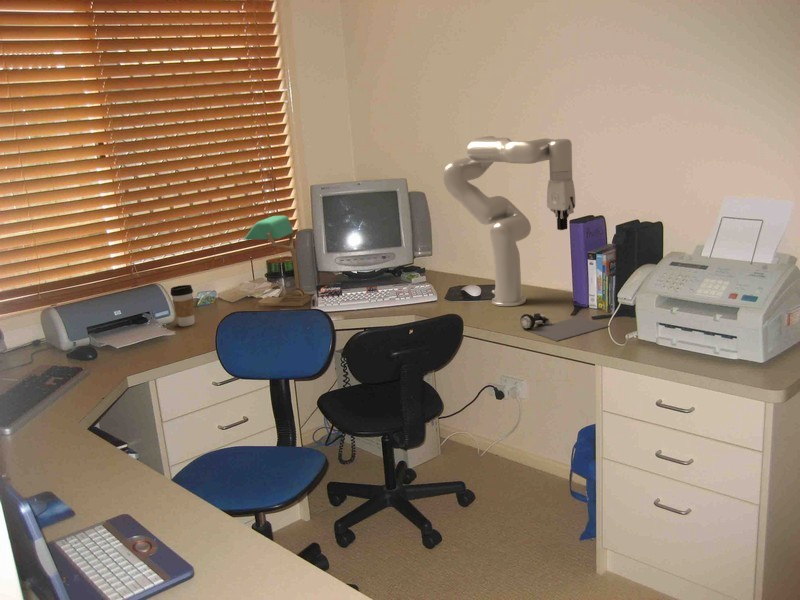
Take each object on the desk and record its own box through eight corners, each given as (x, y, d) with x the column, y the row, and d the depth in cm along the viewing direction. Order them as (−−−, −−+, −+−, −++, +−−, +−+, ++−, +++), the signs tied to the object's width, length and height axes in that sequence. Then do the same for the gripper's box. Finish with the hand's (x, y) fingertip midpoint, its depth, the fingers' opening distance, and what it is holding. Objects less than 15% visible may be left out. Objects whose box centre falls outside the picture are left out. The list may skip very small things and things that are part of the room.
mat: (527, 331, 256) (527, 330, 256) (578, 317, 266) (578, 316, 266) (556, 341, 244) (556, 340, 244) (608, 326, 254) (608, 325, 254)
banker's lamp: (298, 308, 308) (287, 221, 299) (251, 308, 314) (239, 222, 305) (314, 297, 322) (304, 214, 313) (269, 297, 329) (258, 215, 320)
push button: (554, 315, 259) (535, 319, 253) (550, 330, 261) (532, 334, 254) (538, 308, 264) (520, 312, 257) (535, 323, 266) (516, 326, 259)
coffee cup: (188, 327, 294) (182, 289, 290) (170, 326, 297) (164, 288, 293) (202, 321, 301) (196, 283, 297) (185, 320, 305) (179, 283, 301)
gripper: (538, 176, 269) (540, 228, 274) (567, 178, 256) (568, 233, 261) (555, 173, 272) (556, 225, 277) (584, 176, 260) (585, 230, 264)
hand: (562, 229), depth 269 cm, fingers closed
